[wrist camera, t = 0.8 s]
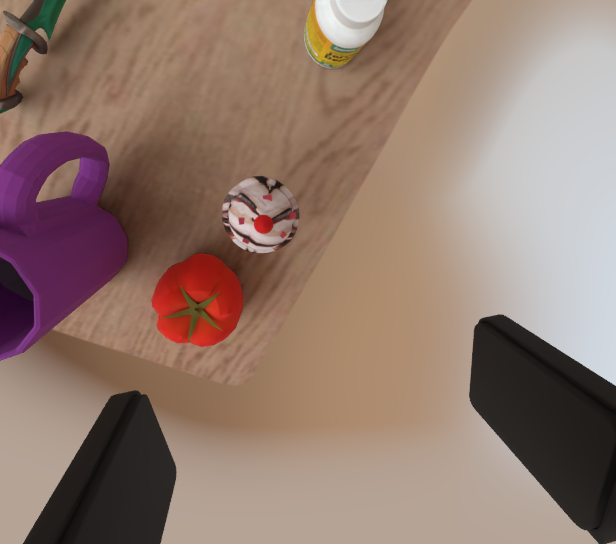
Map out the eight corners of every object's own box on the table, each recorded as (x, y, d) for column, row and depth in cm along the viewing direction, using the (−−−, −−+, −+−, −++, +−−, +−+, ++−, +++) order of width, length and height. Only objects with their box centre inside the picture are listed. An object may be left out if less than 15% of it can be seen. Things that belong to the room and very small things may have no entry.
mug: (21, 263, 32) (-157, 341, 18) (61, 114, 29) (-121, 70, 15) (115, 295, 35) (23, 385, 21) (163, 162, 31) (91, 164, 17)
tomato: (235, 327, 38) (231, 364, 31) (158, 314, 36) (136, 350, 29) (253, 255, 36) (253, 278, 29) (171, 237, 34) (149, 257, 27)
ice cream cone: (237, 228, 35) (225, 274, 21) (227, 175, 33) (207, 185, 19) (288, 221, 35) (311, 261, 21) (281, 168, 33) (302, 173, 19)
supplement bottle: (348, -6, 29) (390, -79, 20) (364, 59, 31) (408, 18, 22) (294, 14, 29) (312, -51, 20) (313, 78, 31) (337, 45, 22)
